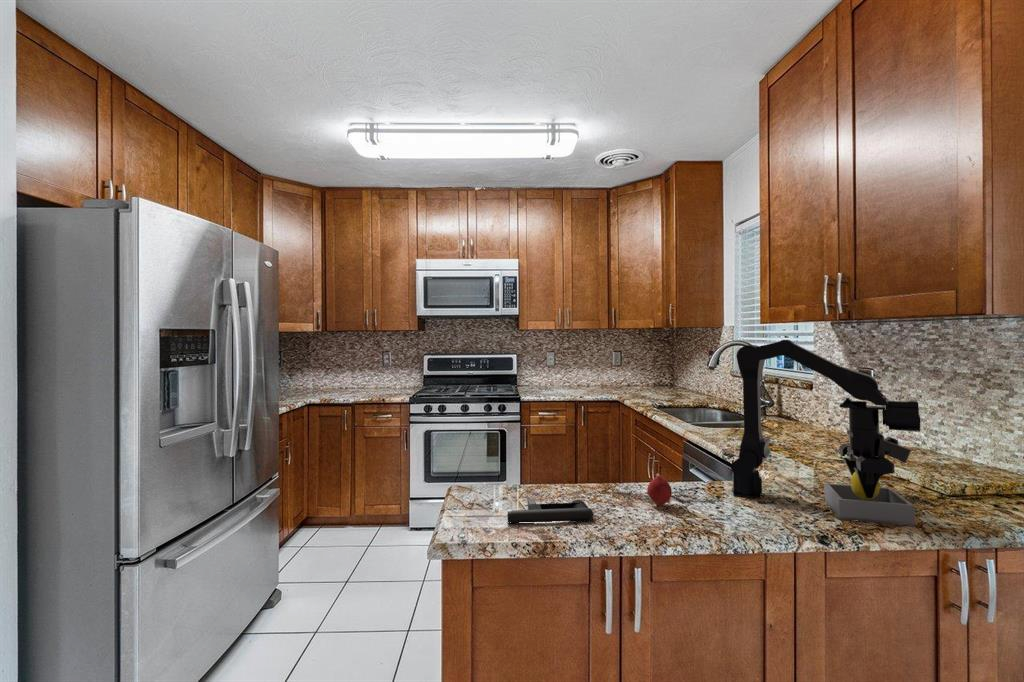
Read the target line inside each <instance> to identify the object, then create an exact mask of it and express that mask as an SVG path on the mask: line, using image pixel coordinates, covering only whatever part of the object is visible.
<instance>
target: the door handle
mask: <svg viewBox="0 0 1024 682" xmlns="http://www.w3.org/2000/svg"><path fill="white" fill-rule="evenodd" d="M594 515H595V514H594V511H593V510H592V508H589V507H588V505H587V504H586V503H585V502H584V501H583V500H582V499H581V500H580V499H575V500H572V501H571V502H560V503H559V502H557V503H553V502H552V503H537V502H536V500H535V498H527V509H514V510H511V511H507V523H508V522H511V523H519V522H552V521H582V522H590V521H589V520H591V521H592V520H593V519H594ZM511 523H510V524H511Z"/></svg>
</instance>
